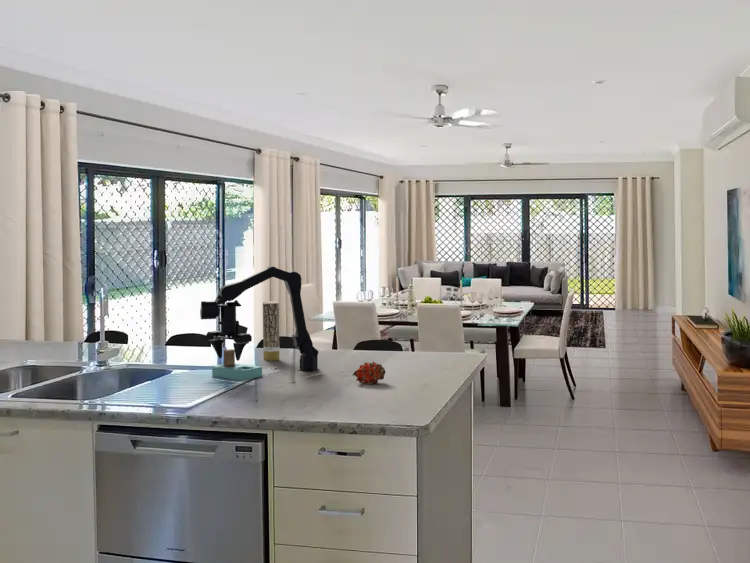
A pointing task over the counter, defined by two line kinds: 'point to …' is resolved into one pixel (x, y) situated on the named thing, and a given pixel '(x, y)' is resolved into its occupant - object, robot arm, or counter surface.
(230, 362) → the walnut peg
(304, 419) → the counter surface
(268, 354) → the paper tube
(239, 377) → the hole block
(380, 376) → the dragon fruit
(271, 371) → the rubber mat
